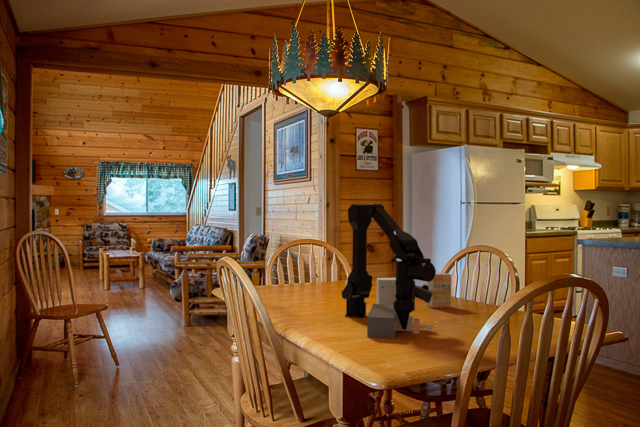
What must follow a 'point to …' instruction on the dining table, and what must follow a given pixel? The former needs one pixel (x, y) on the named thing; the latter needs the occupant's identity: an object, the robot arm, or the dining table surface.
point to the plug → (410, 325)
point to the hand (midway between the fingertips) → (404, 327)
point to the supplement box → (440, 291)
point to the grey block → (381, 321)
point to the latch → (416, 326)
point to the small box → (386, 291)
